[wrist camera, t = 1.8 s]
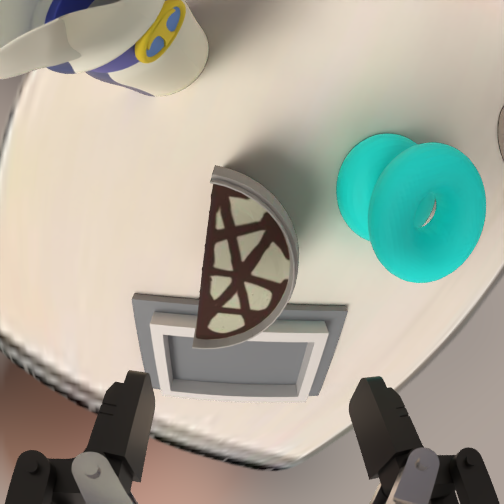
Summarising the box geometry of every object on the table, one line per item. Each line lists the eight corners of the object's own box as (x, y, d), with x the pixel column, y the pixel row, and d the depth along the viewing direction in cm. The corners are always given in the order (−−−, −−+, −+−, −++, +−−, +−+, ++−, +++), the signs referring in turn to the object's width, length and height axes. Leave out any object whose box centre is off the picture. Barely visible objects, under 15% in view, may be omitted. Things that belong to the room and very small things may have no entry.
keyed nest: (345, 305, 31) (353, 322, 28) (316, 389, 36) (321, 407, 34) (134, 293, 29) (125, 310, 26) (150, 382, 35) (145, 399, 32)
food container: (267, 289, 29) (278, 363, 20) (205, 281, 29) (191, 353, 20) (296, 163, 24) (328, 191, 15) (223, 151, 24) (211, 171, 15)
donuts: (491, 262, 18) (387, 310, 19) (430, 218, 27) (345, 249, 28) (487, 134, 14) (363, 167, 15) (415, 122, 23) (318, 148, 24)
